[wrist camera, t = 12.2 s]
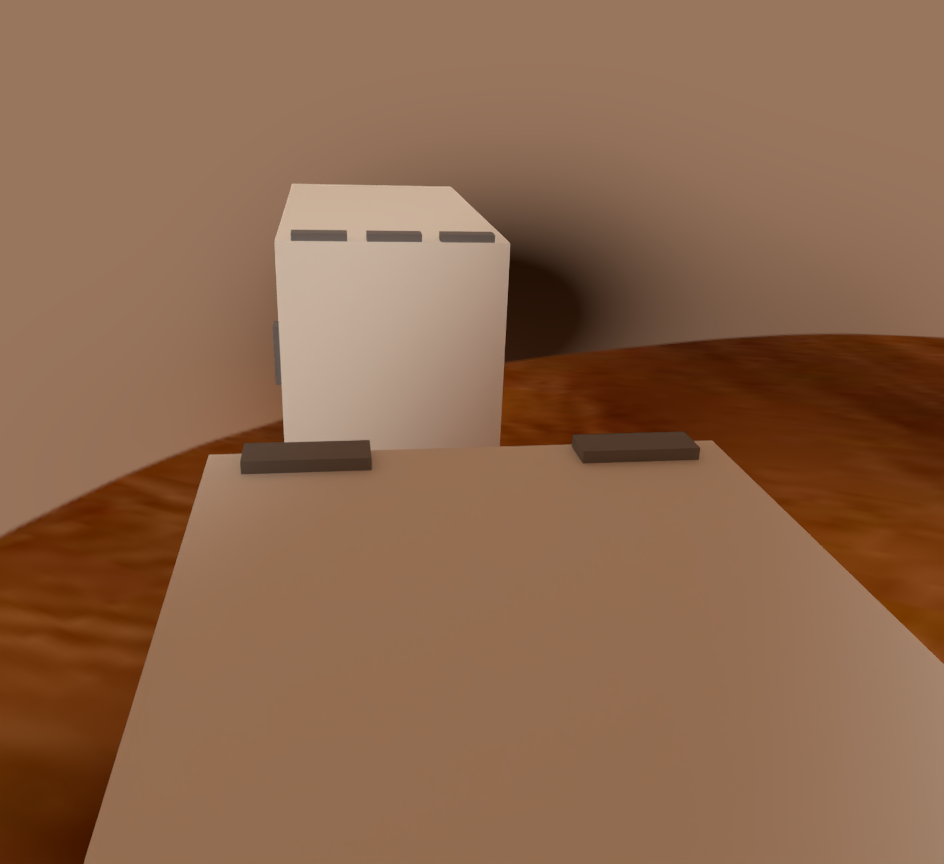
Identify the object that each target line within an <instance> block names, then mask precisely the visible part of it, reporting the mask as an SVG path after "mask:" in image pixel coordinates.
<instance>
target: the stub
mask: <svg viewBox="0 0 944 864" xmlns="http://www.w3.org/2000/svg"><path fill="white" fill-rule="evenodd" d="M84 864H944V664H943V663H942V662H941V661H940V660H939V659H938V658H937V657H936V656H935V655H934V654H933V653H931V652H930V651H929V650H928V649H927V648H926V647H925V646H924V645H923V644H922V643H921V642H920V641H919V640H918V639H917V638H916V637H915V636H914V635H913V634H912V633H911V632H910V631H909V630H908V629H907V628H906V627H905V626H904V625H903V624H901V623H900V622H899V621H898V620H897V619H896V618H895V617H894V616H893V615H892V614H891V613H890V612H889V611H888V610H887V609H886V608H885V607H884V606H883V605H882V604H881V603H880V602H879V601H878V600H877V599H876V598H875V597H874V596H873V595H871V594H870V593H869V592H868V591H867V590H866V589H865V588H864V587H863V586H862V585H861V584H860V583H859V582H858V581H857V580H856V579H855V578H854V577H853V576H852V575H851V574H850V573H849V572H848V571H847V570H846V569H845V568H844V567H843V566H841V565H840V564H839V563H838V562H837V561H836V560H835V559H834V558H833V557H832V556H831V555H830V554H829V553H828V552H827V551H826V550H825V549H824V548H823V547H822V546H821V545H820V544H819V543H818V542H817V541H816V540H815V539H814V538H813V537H811V536H810V535H809V534H808V533H807V532H806V531H805V530H804V529H803V528H802V527H801V526H800V525H799V524H798V523H797V522H796V521H795V520H794V519H793V518H792V517H791V516H790V515H789V514H788V513H787V512H786V511H785V510H784V509H783V508H781V507H780V506H779V505H778V504H777V503H776V502H775V501H774V500H773V499H772V498H771V497H770V496H769V495H768V494H767V493H766V492H765V491H764V490H763V489H762V488H761V487H760V486H759V485H758V484H757V483H756V482H755V481H754V480H753V479H751V478H750V477H749V476H748V475H747V474H746V473H745V472H744V471H743V470H742V469H741V468H740V467H739V466H738V465H737V464H736V463H735V462H734V461H733V460H732V459H731V458H730V457H729V456H728V455H727V454H726V453H725V452H724V451H722V450H721V449H720V448H719V447H718V446H717V445H716V444H715V443H714V442H713V441H693V440H692V439H691V438H690V437H689V436H688V435H687V434H686V433H685V432H651V433H614V434H576V435H572V445H537V446H502V447H467V448H432V449H397V450H371V448H370V440H352V441H315V442H277V443H244V446H243V451H242V454H221V455H209V456H208V460H207V463H206V466H205V469H204V473H203V476H202V479H201V482H200V486H199V489H198V492H197V495H196V499H195V502H194V505H193V508H192V512H191V515H190V518H189V521H188V525H187V528H186V531H185V534H184V538H183V541H182V544H181V547H180V551H179V554H178V557H177V561H176V564H175V567H174V570H173V574H172V577H171V580H170V583H169V587H168V590H167V593H166V596H165V600H164V603H163V606H162V609H161V613H160V616H159V619H158V622H157V626H156V629H155V632H154V635H153V639H152V642H151V645H150V649H149V652H148V655H147V658H146V662H145V665H144V668H143V671H142V675H141V678H140V681H139V684H138V688H137V691H136V694H135V697H134V701H133V704H132V707H131V710H130V714H129V717H128V720H127V723H126V727H125V730H124V733H123V737H122V740H121V743H120V746H119V750H118V753H117V756H116V759H115V763H114V766H113V769H112V772H111V776H110V779H109V782H108V785H107V789H106V792H105V795H104V798H103V802H102V805H101V808H100V811H99V815H98V818H97V821H96V825H95V828H94V831H93V834H92V838H91V841H90V844H89V847H88V851H87V854H86V857H85V860H84Z"/></svg>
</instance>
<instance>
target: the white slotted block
mask: <svg viewBox="0 0 944 864" xmlns="http://www.w3.org/2000/svg"><path fill="white" fill-rule="evenodd" d="M274 242H275V261H276V282H277V302H278V321H274V323H273V338H274V357H275V376H276V385H280V384H282V402H283V423H284V442H315V441H352V440H370V448H371V450H397V449H432V448H467V447H500V431H501V412H502V392H503V373H504V353H505V334H506V332H505V331H506V316H507V295H508V276H509V258H510V243H509V242H508V241H507V240H506V239H505V238H504V237H503V236H502V235H501V234H500V233H499V232H498V231H497V230H496V229H495V228H494V227H493V226H492V225H490V224H489V223H488V222H487V221H486V220H485V219H484V218H483V217H482V216H481V215H480V214H479V213H478V212H477V211H476V210H474V208H473V207H472V206H470V205H469V204H468V203H467V202H466V201H465V200H464V199H463V198H462V197H461V196H460V195H459V194H458V193H457V192H456V191H455V190H454V189H453V188H452V187H437V186H436V187H435V186H386V185H384V186H383V185H331V184H292V186H291V190H290V193H289V196H288V199H287V203H286V206H285V209H284V213H283V215H282V219H281V222H280V225H279V228H278V231H277V235H276V238H275V241H274Z"/></svg>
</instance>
